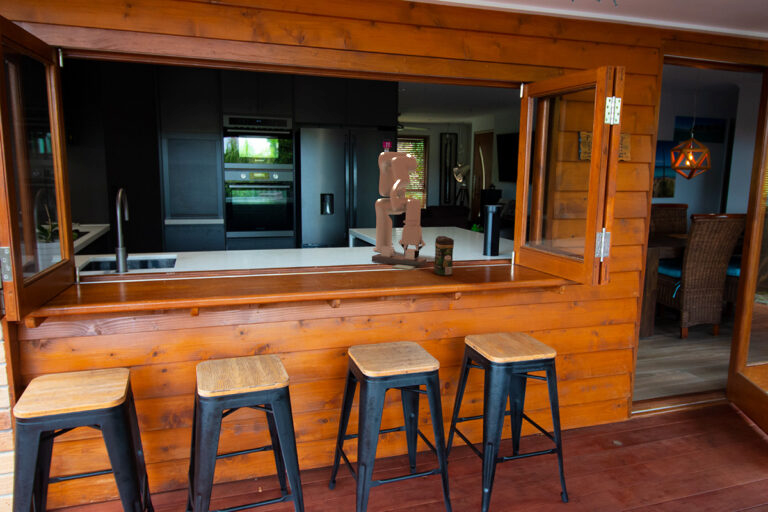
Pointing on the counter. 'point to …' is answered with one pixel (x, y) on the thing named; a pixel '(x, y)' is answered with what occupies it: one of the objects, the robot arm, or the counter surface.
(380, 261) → the board with square holes
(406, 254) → the pale pink rectangular block
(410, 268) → the mat
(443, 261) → the coffee jar
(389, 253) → the brown wooden block
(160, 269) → the counter surface
